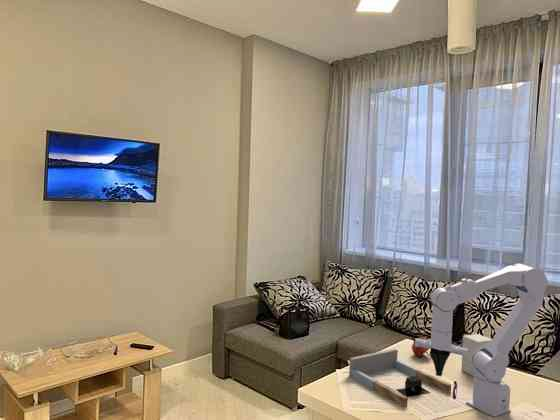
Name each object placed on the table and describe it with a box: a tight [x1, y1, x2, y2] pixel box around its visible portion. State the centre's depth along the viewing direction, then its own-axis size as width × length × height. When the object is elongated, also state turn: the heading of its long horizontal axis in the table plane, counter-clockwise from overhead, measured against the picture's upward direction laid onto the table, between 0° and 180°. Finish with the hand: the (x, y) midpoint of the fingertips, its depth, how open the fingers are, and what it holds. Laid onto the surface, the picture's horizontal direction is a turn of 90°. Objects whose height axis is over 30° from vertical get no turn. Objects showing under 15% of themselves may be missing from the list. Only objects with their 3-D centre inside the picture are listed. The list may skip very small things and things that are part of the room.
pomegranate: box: [411, 337, 431, 358], centre depth 171 cm, size 7×7×10 cm
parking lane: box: [348, 348, 452, 408], centre depth 146 cm, size 24×21×6 cm
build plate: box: [395, 376, 431, 398], centre depth 140 cm, size 12×7×5 cm, turn 112°
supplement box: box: [460, 333, 493, 377], centre depth 157 cm, size 7×7×13 cm
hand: (439, 374), depth 132 cm, fingers closed
